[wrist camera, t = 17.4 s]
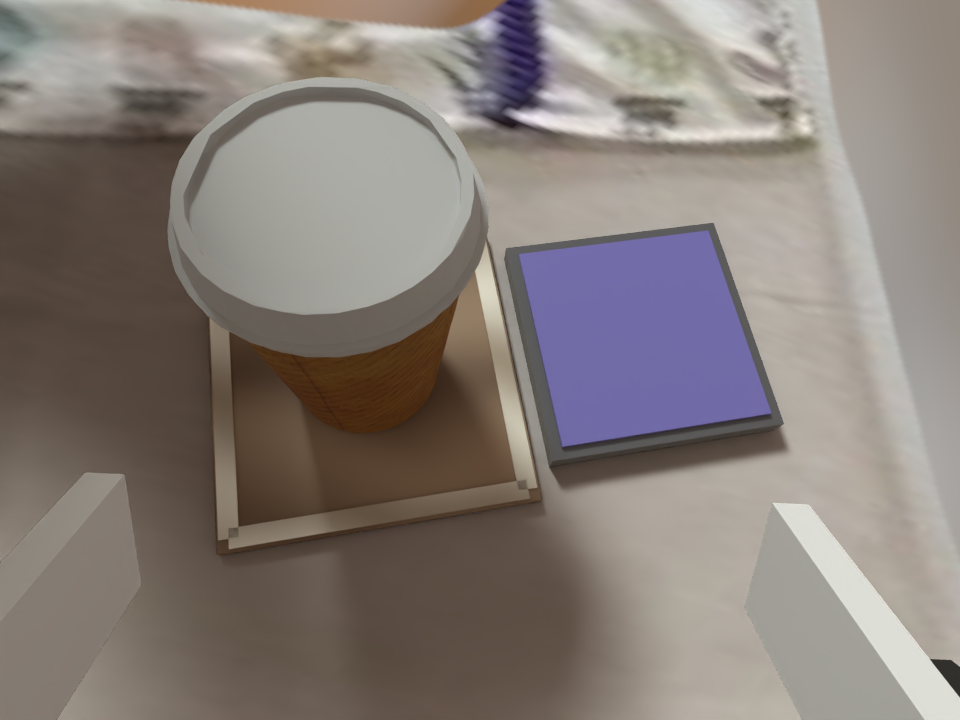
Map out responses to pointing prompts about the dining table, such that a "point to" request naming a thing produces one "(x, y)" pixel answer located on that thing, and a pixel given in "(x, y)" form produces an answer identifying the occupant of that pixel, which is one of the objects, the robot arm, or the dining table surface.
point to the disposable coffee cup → (332, 240)
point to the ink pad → (637, 343)
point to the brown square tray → (369, 442)
